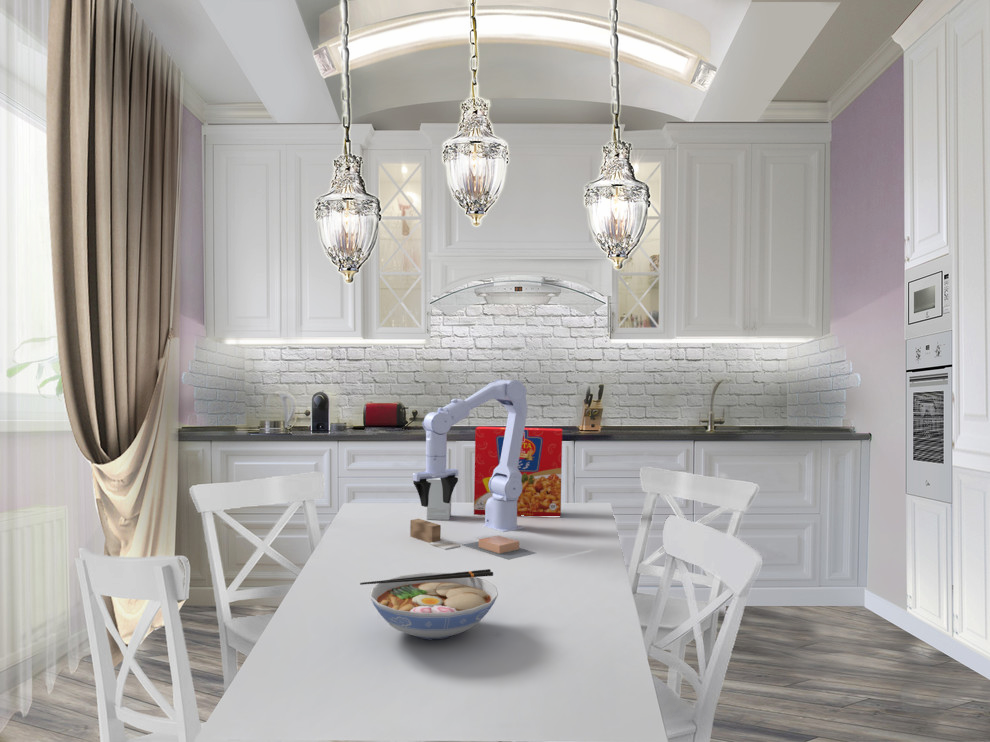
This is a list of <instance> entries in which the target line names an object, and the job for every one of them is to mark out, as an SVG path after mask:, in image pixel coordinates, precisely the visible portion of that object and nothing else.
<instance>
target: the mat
mask: <svg viewBox="0 0 990 742" xmlns="http://www.w3.org/2000/svg"><path fill="white" fill-rule="evenodd" d="M462 546H464V547H466V548H470V549H473V550H477V551H480V552H483V553H486V554H489V555H492V556H495V557H498V558H501V559H504V560H508V561H509V560H513V559H517V558H521V557H527V556H530V555H534V554H535V555H536V554H537V552H536V551H535V552H534V551H532V550H528V549H525V548H521V547H519V549H518V550H515V551H511V552H506V553H502V554H498V553H495V552H492V551H488V550H485V549H482V548H480V547H479V540H478V541H474V542H470V543H465V544H462Z"/></svg>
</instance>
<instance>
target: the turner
mask: <svg viewBox="0 0 990 742" xmlns="http://www.w3.org/2000/svg"><path fill="white" fill-rule="evenodd" d="M409 526H410V527H409V528H410V529H409V531H410V533H409V534H410V535H409V537H410V538H414V539H416V540H420V541H423V542H426V543H428V545H429V546H432V547H435V548H439V549H442V550H445V551H446V550H451V549H455V548H460V547H461V544H457V543H454V542H450V541H448V540H444V539H442V540H441V535H442V534H441V529H442V528H441V527H442V526H441V524H439V523H434V522H431V521H427V520H425V519H421V518H416V519H411V520H410V525H409Z"/></svg>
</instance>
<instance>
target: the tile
mask: <svg viewBox="0 0 990 742" xmlns="http://www.w3.org/2000/svg"><path fill="white" fill-rule="evenodd" d="M478 541H479V547H480V548H482V549H485V550H488V551H492V552H495V553H498V554H502V553H506V552H511V551H515V550H518V549H519V548H520V540H516V539H512V538H509V537H506V536H502V535H493V536H490V537H483V538H478Z"/></svg>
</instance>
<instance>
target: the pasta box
mask: <svg viewBox="0 0 990 742" xmlns="http://www.w3.org/2000/svg"><path fill="white" fill-rule="evenodd" d="M505 430H506V426H505V427H504V426H477V427H475V430H474V431H475V432H474V433H475V435H474V436H475V437H474V483H473V484H474V489H473V515H474V516H475V515H476V516H485V506H486V502H487V500H488V499H489V498H490V497H492V493H491V491H490V490H489V481H490V479H491V477H492V475H493V472H494V469H495V468H496V467H497V466H498V465H499V464H500V458H501V453H502V447H503V441H504V436H505ZM562 458H563V428H553V427H552V428H549V427H548V428H547V427H544V428H543V427H525V428H524V434H523V439H522V445H521V451H520V456H519V462H518V469H519V471H520V473H521V474H522V479H521V482H522V493H521V494H520V496H519V497H518V500H517V517H522V516H521V515H524V516H562V514H561V513H562V467H563V466H562V462H563V461H562V460H563V459H562Z"/></svg>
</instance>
